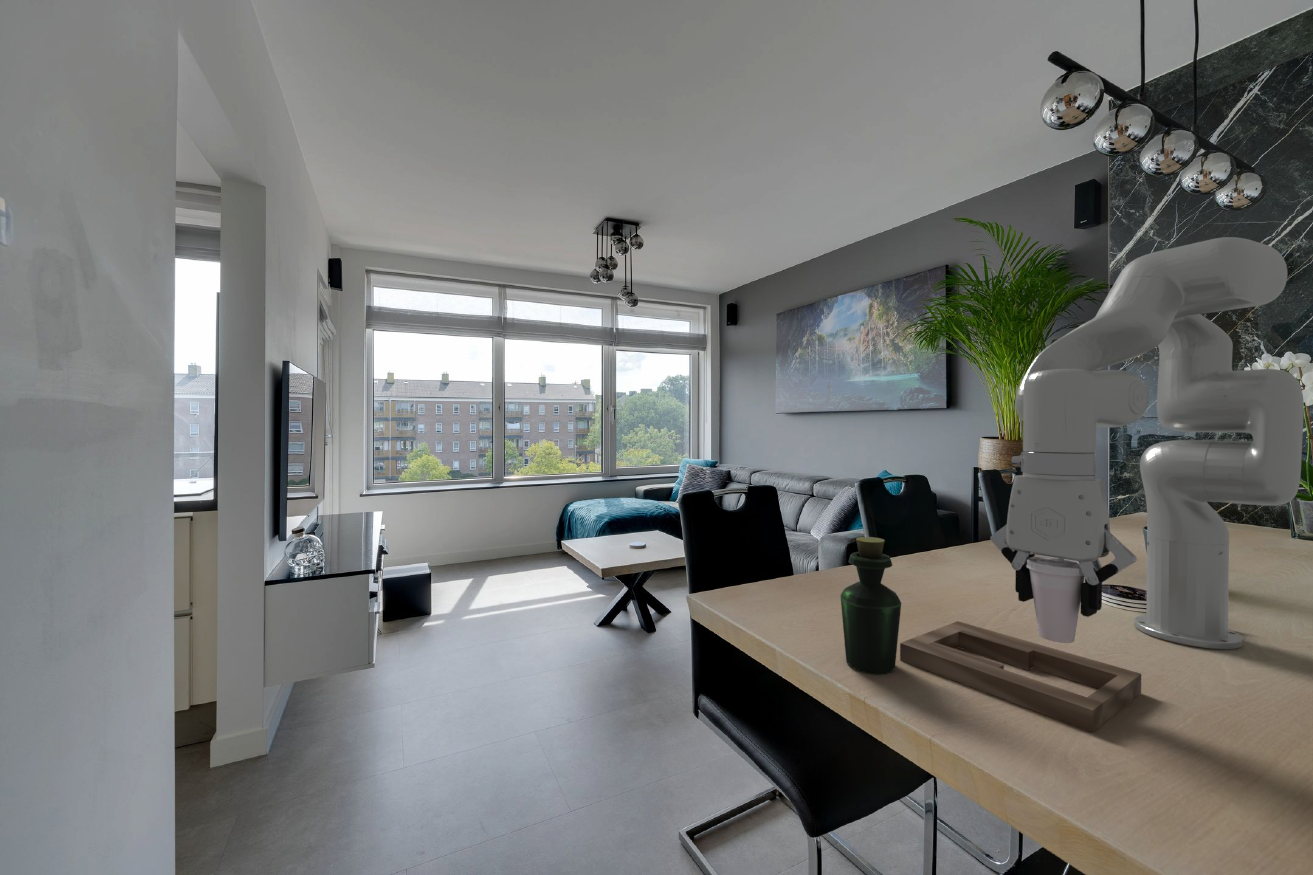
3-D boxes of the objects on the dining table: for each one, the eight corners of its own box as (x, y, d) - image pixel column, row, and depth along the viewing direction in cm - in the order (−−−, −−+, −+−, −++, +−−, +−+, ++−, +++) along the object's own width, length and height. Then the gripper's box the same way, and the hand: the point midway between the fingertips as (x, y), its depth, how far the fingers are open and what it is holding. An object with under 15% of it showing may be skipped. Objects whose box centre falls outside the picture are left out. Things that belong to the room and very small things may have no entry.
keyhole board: (957, 636, 88) (957, 621, 88) (1141, 693, 69) (1141, 673, 69) (900, 659, 79) (900, 642, 79) (1092, 732, 60) (1092, 710, 60)
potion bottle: (902, 659, 80) (902, 536, 80) (900, 682, 72) (900, 547, 72) (843, 649, 83) (843, 532, 83) (836, 670, 76) (836, 542, 76)
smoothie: (1099, 649, 66) (1100, 533, 66) (1040, 644, 67) (1040, 531, 67) (1070, 630, 72) (1071, 525, 72) (1016, 626, 74) (1017, 523, 73)
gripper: (972, 464, 75) (971, 594, 75) (1134, 472, 60) (1132, 633, 60) (999, 462, 79) (998, 586, 79) (1156, 469, 64) (1154, 620, 65)
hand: (1056, 605), depth 70 cm, fingers closed on smoothie, 6 cm apart
